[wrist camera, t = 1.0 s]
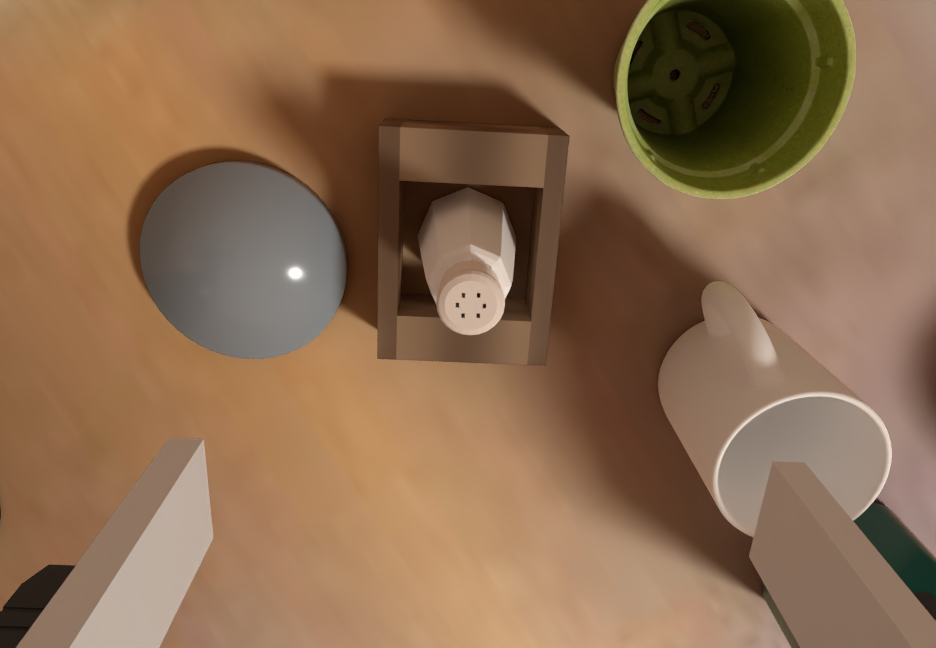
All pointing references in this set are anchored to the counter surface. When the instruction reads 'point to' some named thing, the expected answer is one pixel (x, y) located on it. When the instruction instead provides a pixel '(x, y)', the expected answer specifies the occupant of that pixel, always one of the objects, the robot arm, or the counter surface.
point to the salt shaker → (468, 259)
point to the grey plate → (244, 259)
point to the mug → (766, 412)
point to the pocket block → (483, 163)
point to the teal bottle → (885, 556)
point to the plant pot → (734, 90)
